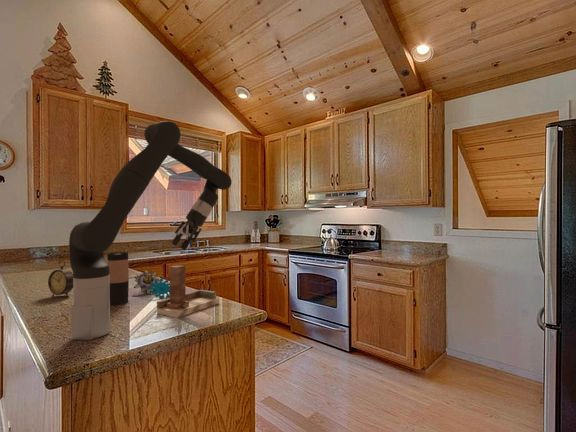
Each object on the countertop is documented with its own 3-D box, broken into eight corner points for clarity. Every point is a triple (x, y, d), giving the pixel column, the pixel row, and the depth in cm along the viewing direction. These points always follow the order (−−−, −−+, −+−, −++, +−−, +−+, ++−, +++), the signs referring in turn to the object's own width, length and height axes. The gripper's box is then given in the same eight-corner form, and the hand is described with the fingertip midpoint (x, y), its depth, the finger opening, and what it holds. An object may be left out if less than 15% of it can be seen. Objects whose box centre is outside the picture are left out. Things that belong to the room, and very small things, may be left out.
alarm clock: (47, 296, 140) (46, 260, 140) (59, 293, 146) (58, 258, 146) (66, 298, 137) (65, 260, 137) (77, 295, 142) (77, 259, 142)
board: (176, 318, 109) (176, 305, 109) (157, 313, 114) (156, 301, 114) (218, 303, 127) (218, 292, 127) (200, 300, 132) (200, 289, 132)
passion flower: (148, 305, 145) (133, 287, 139) (140, 296, 153) (126, 278, 147) (169, 288, 150) (155, 270, 144) (160, 280, 158) (147, 263, 152)
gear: (150, 296, 132) (150, 276, 138) (147, 304, 135) (147, 284, 142) (177, 296, 137) (176, 277, 144) (174, 304, 141) (173, 285, 147)
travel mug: (103, 303, 128) (102, 253, 128) (121, 299, 135) (120, 251, 135) (115, 306, 124) (114, 254, 124) (133, 301, 131) (132, 252, 131)
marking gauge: (178, 309, 111) (178, 268, 111) (166, 307, 114) (166, 266, 114) (190, 305, 116) (190, 265, 116) (179, 303, 119) (178, 264, 119)
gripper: (184, 206, 136) (163, 239, 131) (200, 210, 125) (177, 246, 121) (198, 215, 141) (177, 247, 136) (214, 219, 130) (193, 254, 126)
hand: (177, 246), depth 129 cm, fingers open, 8 cm apart
